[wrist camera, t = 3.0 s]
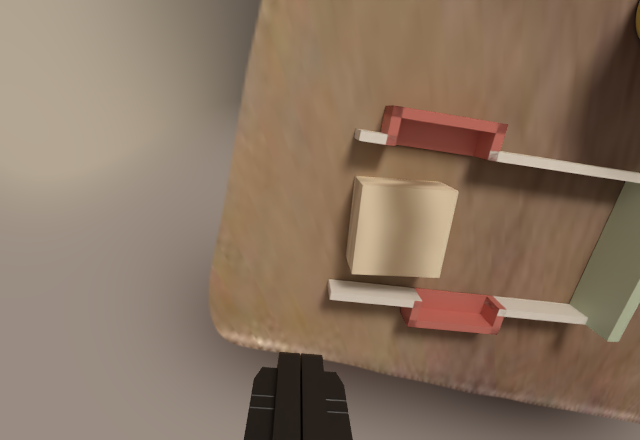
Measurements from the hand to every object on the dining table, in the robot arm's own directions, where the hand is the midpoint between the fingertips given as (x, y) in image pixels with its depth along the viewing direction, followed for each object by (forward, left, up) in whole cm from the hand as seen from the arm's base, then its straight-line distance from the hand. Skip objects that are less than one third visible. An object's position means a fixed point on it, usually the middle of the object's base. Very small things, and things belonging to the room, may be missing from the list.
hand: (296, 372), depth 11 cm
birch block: (-9, 0, -20) cm, 22 cm away
